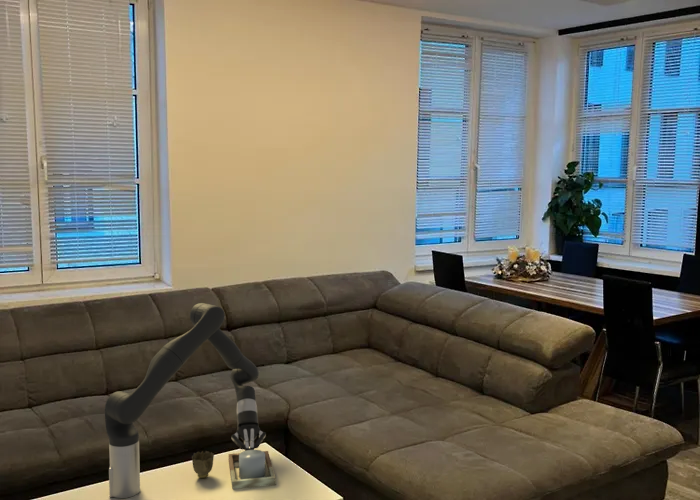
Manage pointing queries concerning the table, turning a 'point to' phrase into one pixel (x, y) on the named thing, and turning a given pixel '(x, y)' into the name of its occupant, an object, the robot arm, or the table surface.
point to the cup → (202, 463)
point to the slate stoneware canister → (251, 464)
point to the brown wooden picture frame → (252, 481)
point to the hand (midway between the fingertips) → (250, 459)
